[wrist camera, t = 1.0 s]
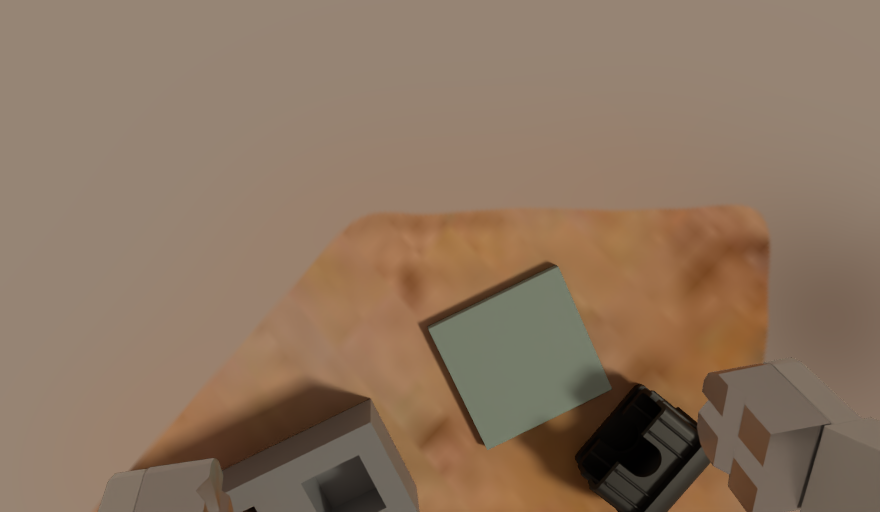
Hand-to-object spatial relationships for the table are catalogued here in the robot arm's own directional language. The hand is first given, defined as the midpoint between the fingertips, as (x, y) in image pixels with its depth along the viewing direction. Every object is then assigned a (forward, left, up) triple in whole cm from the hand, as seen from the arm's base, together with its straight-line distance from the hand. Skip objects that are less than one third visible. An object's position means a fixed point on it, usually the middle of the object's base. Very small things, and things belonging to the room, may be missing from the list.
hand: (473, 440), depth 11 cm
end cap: (-28, -10, -45) cm, 54 cm away
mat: (-16, -4, -44) cm, 47 cm away
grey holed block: (-18, +18, -44) cm, 51 cm away
